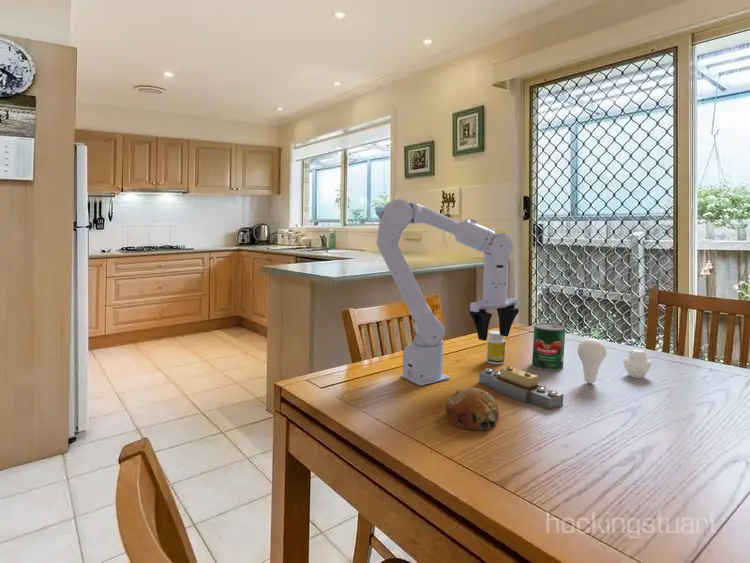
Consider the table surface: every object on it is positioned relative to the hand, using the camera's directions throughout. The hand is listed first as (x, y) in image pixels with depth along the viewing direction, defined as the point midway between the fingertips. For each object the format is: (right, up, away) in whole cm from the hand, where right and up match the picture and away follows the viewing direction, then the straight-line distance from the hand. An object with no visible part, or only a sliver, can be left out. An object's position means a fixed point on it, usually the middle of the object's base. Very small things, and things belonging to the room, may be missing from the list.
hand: (493, 337), depth 113 cm
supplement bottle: (+4, -9, +13) cm, 16 cm away
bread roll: (-10, -13, -24) cm, 29 cm away
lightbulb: (+22, -11, -3) cm, 25 cm away
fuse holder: (+3, -11, -10) cm, 15 cm away
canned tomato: (+17, -9, +10) cm, 22 cm away
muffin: (+36, -10, +2) cm, 38 cm away
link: (+3, -11, -10) cm, 15 cm away
